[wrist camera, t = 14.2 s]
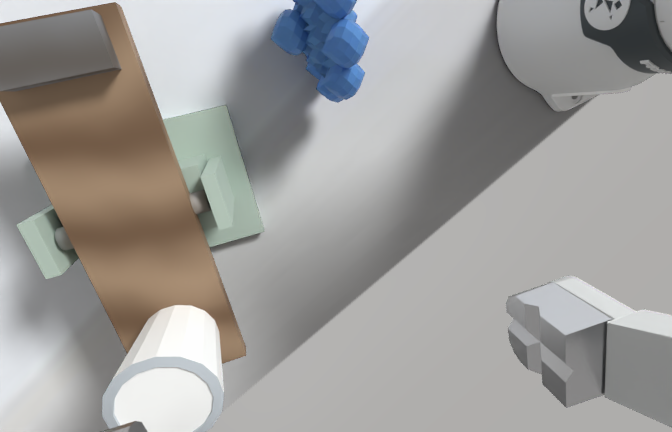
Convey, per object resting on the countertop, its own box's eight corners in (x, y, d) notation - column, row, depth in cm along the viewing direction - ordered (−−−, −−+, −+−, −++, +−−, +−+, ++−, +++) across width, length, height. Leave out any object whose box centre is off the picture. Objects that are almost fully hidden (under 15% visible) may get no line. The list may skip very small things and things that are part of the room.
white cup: (213, 380, 31) (206, 455, 25) (121, 367, 29) (88, 446, 23) (238, 307, 30) (238, 367, 23) (144, 288, 28) (115, 347, 21)
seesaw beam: (-32, 38, 23) (-79, 29, 19) (141, 6, 24) (125, -8, 21) (138, 376, 32) (126, 409, 28) (257, 337, 33) (258, 364, 30)
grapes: (242, -28, 31) (243, -97, 20) (320, -47, 32) (363, -123, 21) (285, 114, 35) (306, 122, 24) (354, 94, 36) (404, 93, 25)
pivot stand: (226, 104, 34) (221, 107, 25) (263, 228, 38) (271, 268, 29) (32, 150, 31) (-49, 171, 23) (94, 276, 36) (47, 336, 27)
